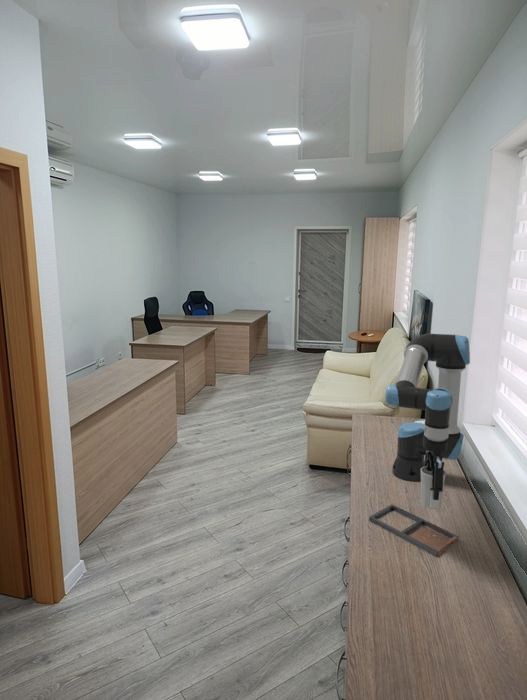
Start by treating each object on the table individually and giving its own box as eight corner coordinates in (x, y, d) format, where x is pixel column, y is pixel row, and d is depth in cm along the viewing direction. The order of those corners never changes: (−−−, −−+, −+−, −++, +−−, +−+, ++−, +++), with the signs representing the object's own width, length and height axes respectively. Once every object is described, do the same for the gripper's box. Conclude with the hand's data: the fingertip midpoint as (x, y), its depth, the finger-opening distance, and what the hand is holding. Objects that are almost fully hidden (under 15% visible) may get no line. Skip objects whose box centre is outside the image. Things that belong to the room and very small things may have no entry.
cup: (445, 511, 147) (448, 477, 145) (420, 509, 149) (422, 475, 147) (441, 499, 155) (443, 467, 153) (416, 497, 157) (419, 465, 154)
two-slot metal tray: (368, 520, 165) (369, 516, 165) (391, 507, 174) (391, 504, 174) (436, 556, 145) (436, 552, 145) (458, 540, 153) (458, 536, 153)
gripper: (417, 426, 158) (413, 486, 162) (432, 449, 138) (427, 516, 142) (438, 427, 157) (434, 487, 161) (457, 450, 137) (451, 518, 142)
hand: (431, 501), depth 152 cm, fingers closed on cup, 7 cm apart
